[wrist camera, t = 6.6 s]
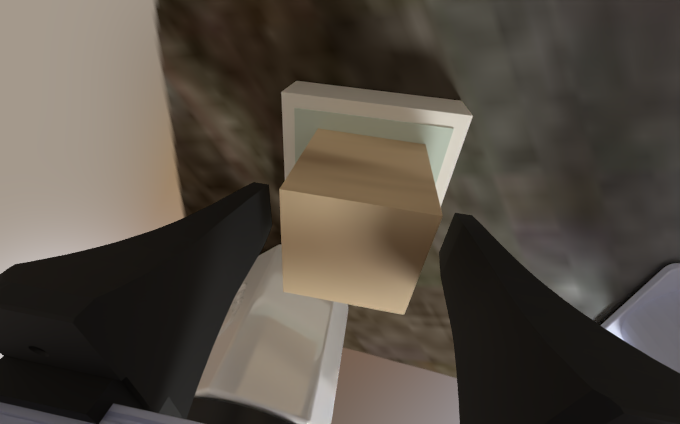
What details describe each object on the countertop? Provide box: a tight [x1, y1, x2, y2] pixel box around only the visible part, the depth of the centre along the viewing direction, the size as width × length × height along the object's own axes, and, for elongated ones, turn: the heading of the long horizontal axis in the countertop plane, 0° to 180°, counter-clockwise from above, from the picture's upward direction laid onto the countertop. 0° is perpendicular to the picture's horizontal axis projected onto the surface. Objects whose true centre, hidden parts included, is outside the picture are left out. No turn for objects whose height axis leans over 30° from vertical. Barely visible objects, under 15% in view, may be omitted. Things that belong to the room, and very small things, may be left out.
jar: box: [186, 244, 348, 424], centre depth 17 cm, size 9×8×12 cm
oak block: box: [279, 128, 443, 315], centre depth 11 cm, size 4×4×5 cm
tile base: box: [281, 81, 473, 207], centre depth 14 cm, size 8×8×2 cm
